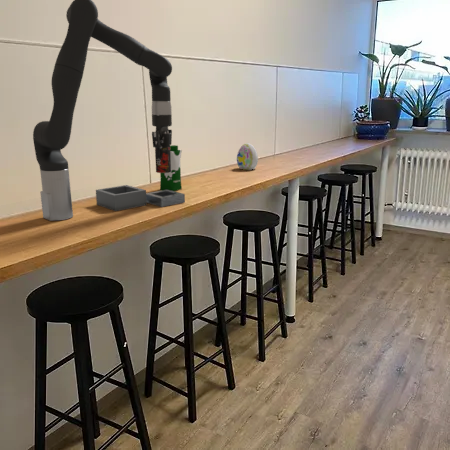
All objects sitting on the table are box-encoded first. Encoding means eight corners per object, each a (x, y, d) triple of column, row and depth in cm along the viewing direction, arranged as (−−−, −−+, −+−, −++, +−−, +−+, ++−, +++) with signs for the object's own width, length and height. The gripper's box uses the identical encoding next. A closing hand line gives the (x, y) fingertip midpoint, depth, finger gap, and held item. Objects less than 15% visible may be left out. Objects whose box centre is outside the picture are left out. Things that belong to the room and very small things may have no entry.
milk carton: (172, 192, 200) (171, 147, 195) (157, 190, 205) (155, 145, 199) (184, 189, 208) (183, 145, 202) (168, 186, 212) (167, 144, 206)
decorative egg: (232, 168, 263) (232, 142, 259) (247, 166, 271) (247, 141, 267) (247, 171, 254) (247, 144, 250) (262, 169, 262) (262, 143, 258)
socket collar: (161, 207, 175) (161, 198, 174) (144, 202, 183) (144, 193, 182) (184, 202, 182) (184, 193, 181) (167, 197, 190) (167, 189, 189)
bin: (115, 211, 168) (114, 195, 167) (96, 204, 178) (95, 189, 176) (146, 205, 178) (146, 190, 176) (127, 199, 187) (126, 185, 186)
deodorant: (172, 170, 181) (171, 132, 177) (168, 173, 176) (167, 134, 171) (158, 170, 182) (157, 132, 178) (154, 172, 177) (152, 133, 172)
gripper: (160, 112, 180) (161, 154, 185) (144, 113, 167) (146, 159, 172) (177, 113, 178) (178, 155, 183) (163, 114, 165) (164, 160, 170)
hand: (162, 157), depth 177 cm, fingers closed on deodorant, 6 cm apart
